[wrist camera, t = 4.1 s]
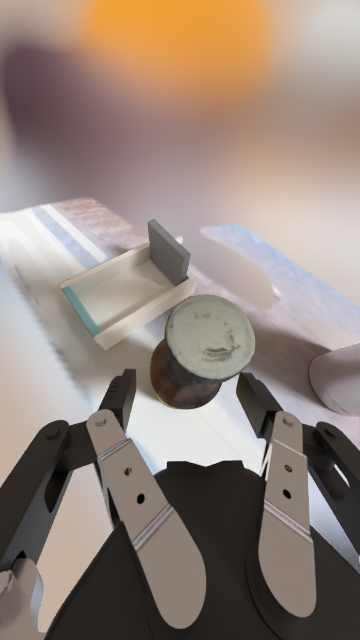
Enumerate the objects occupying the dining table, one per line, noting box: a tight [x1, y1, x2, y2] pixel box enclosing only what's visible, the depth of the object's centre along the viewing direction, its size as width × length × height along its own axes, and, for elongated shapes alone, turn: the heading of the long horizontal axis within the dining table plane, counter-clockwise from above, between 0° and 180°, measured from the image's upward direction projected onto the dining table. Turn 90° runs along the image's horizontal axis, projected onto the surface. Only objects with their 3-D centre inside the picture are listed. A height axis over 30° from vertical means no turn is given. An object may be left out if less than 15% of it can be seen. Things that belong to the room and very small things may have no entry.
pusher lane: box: [59, 242, 198, 351], centre depth 29 cm, size 18×12×4 cm, turn 129°
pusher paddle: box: [148, 219, 191, 286], centre depth 28 cm, size 3×9×8 cm, turn 39°
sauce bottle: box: [150, 295, 255, 409], centre depth 16 cm, size 7×6×20 cm
